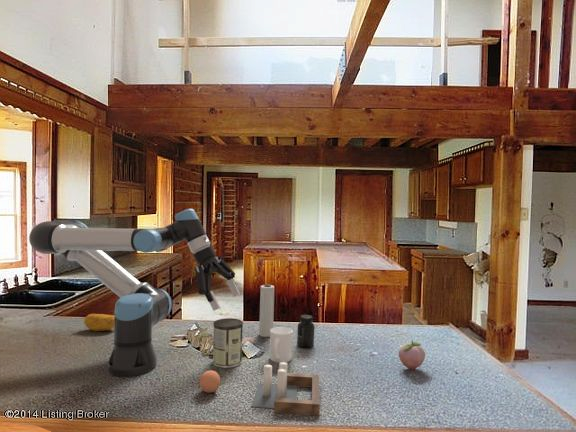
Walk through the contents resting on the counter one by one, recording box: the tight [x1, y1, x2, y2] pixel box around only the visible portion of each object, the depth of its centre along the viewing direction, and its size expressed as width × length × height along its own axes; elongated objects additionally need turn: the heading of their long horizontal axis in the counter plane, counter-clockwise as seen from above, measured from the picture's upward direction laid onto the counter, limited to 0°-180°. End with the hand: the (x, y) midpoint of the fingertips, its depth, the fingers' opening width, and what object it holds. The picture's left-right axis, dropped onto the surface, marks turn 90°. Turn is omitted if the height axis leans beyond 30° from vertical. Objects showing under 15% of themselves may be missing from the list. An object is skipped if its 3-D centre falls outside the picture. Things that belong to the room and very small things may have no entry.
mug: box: [269, 326, 294, 364], centre depth 135 cm, size 12×8×10 cm
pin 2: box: [276, 368, 286, 398], centre depth 106 cm, size 2×2×8 cm
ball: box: [199, 370, 221, 394], centre depth 110 cm, size 6×6×6 cm
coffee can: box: [212, 317, 244, 369], centre depth 132 cm, size 10×10×14 cm
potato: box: [83, 313, 115, 332], centre depth 161 cm, size 7×14×7 cm, turn 84°
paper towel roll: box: [258, 284, 275, 338], centre depth 162 cm, size 7×6×21 cm
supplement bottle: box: [296, 314, 316, 350], centre depth 150 cm, size 7×7×12 cm
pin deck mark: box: [250, 382, 298, 410], centre depth 109 cm, size 12×14×1 cm
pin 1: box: [278, 362, 288, 392], centre depth 111 cm, size 2×2×8 cm
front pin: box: [262, 364, 273, 397], centre depth 109 cm, size 2×2×8 cm
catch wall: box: [273, 372, 321, 417], centre depth 108 cm, size 12×18×3 cm, turn 176°
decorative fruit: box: [398, 340, 426, 371], centre depth 130 cm, size 9×8×10 cm
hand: (227, 302), depth 136 cm, fingers open, 13 cm apart
